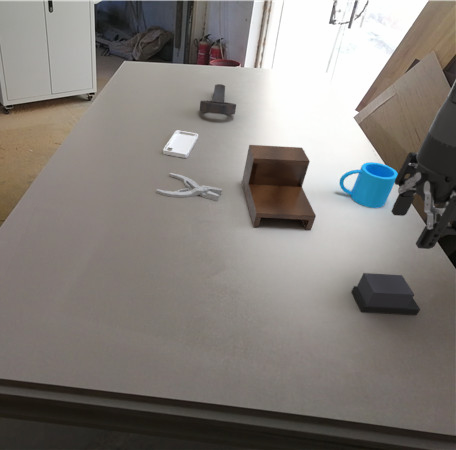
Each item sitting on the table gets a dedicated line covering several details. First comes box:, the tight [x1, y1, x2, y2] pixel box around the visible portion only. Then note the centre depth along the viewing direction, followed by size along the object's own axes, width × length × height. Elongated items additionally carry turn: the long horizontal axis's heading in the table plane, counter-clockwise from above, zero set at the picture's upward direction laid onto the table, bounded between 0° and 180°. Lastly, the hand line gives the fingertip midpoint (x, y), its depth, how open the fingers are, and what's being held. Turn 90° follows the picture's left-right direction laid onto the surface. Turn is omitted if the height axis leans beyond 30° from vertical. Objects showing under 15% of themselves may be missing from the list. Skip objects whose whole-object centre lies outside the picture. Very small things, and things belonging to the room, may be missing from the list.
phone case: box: [162, 129, 199, 159], centre depth 121 cm, size 7×1×15 cm
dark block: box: [351, 272, 421, 316], centre depth 73 cm, size 10×5×5 cm, turn 88°
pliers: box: [156, 172, 223, 202], centre depth 101 cm, size 10×2×15 cm
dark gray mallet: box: [199, 83, 237, 115], centre depth 146 cm, size 12×8×30 cm
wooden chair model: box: [241, 144, 316, 231], centre depth 95 cm, size 13×19×11 cm
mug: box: [338, 162, 399, 209], centre depth 100 cm, size 12×8×8 cm
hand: (409, 229), depth 65 cm, fingers open, 8 cm apart
